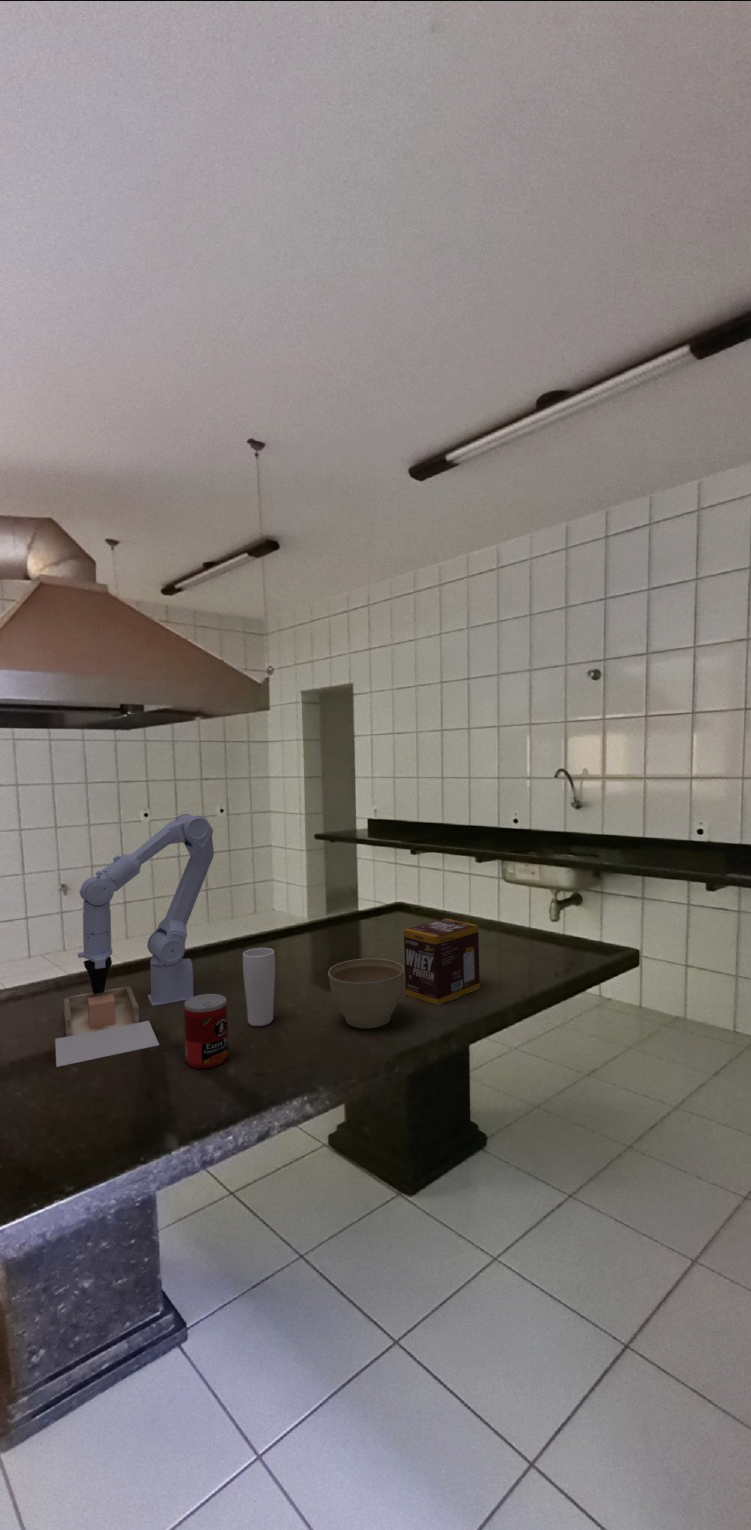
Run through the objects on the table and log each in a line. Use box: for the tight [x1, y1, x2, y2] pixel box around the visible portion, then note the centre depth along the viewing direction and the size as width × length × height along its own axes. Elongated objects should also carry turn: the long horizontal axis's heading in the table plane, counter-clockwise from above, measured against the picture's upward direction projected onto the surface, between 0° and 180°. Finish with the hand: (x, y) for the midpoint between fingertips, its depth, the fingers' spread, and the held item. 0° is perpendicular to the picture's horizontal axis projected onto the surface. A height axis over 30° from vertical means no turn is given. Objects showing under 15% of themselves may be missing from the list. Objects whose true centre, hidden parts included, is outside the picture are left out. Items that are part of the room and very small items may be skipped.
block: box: [88, 994, 116, 1029], centre depth 137 cm, size 5×5×5 cm
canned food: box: [183, 993, 229, 1069], centre depth 120 cm, size 8×8×11 cm
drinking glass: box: [242, 947, 276, 1027], centre depth 137 cm, size 7×7×15 cm
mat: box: [54, 1020, 160, 1068], centre depth 128 cm, size 18×14×1 cm
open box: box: [63, 985, 140, 1037], centre depth 141 cm, size 14×15×4 cm
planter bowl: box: [327, 958, 405, 1029], centre depth 136 cm, size 16×16×11 cm
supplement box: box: [403, 918, 481, 1005], centre depth 152 cm, size 10×15×16 cm
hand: (98, 992), depth 144 cm, fingers closed
